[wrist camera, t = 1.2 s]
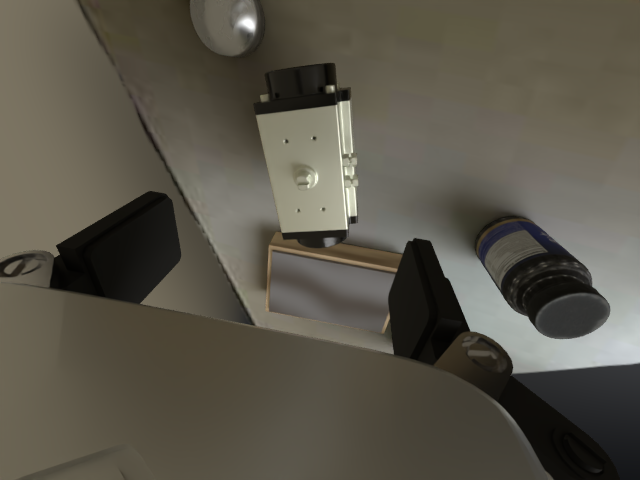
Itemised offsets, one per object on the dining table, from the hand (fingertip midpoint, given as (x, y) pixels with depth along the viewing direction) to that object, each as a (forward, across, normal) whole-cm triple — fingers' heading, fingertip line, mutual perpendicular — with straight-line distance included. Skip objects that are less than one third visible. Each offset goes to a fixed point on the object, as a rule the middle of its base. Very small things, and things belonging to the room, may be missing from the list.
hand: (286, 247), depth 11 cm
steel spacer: (+19, +9, -8) cm, 22 cm away
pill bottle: (+18, -20, +7) cm, 28 cm away
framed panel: (+18, -3, +16) cm, 24 cm away
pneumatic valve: (+18, 0, 0) cm, 19 cm away
